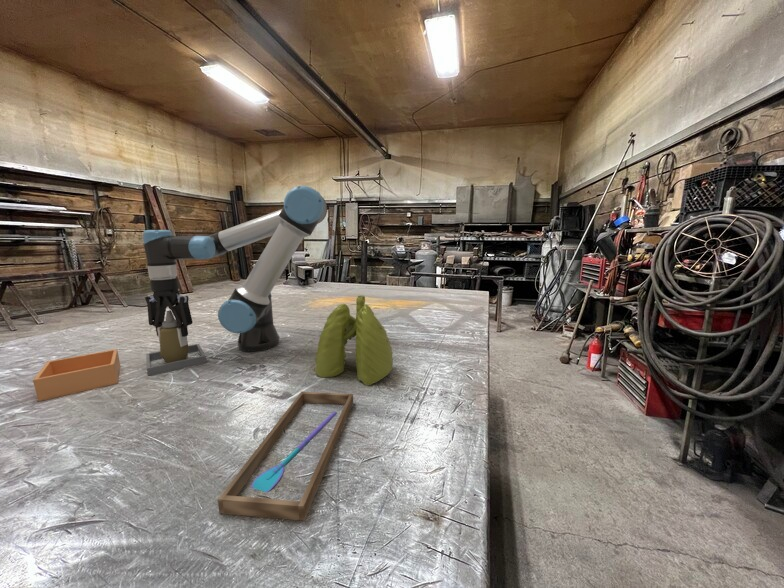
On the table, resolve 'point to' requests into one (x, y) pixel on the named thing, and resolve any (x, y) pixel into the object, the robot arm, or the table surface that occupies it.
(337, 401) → the brown wooden frame
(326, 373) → the lungs
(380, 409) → the table surface
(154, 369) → the tray
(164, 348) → the squeeze bottle
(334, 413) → the paddle
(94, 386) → the wooden bin
